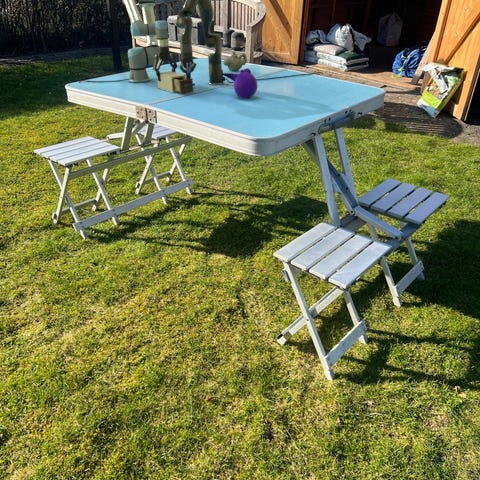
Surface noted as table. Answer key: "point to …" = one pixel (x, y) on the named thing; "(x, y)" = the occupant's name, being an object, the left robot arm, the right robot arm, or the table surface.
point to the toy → (243, 83)
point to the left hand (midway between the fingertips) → (166, 79)
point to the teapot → (235, 62)
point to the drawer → (183, 84)
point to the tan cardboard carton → (168, 80)
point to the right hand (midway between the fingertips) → (188, 79)
